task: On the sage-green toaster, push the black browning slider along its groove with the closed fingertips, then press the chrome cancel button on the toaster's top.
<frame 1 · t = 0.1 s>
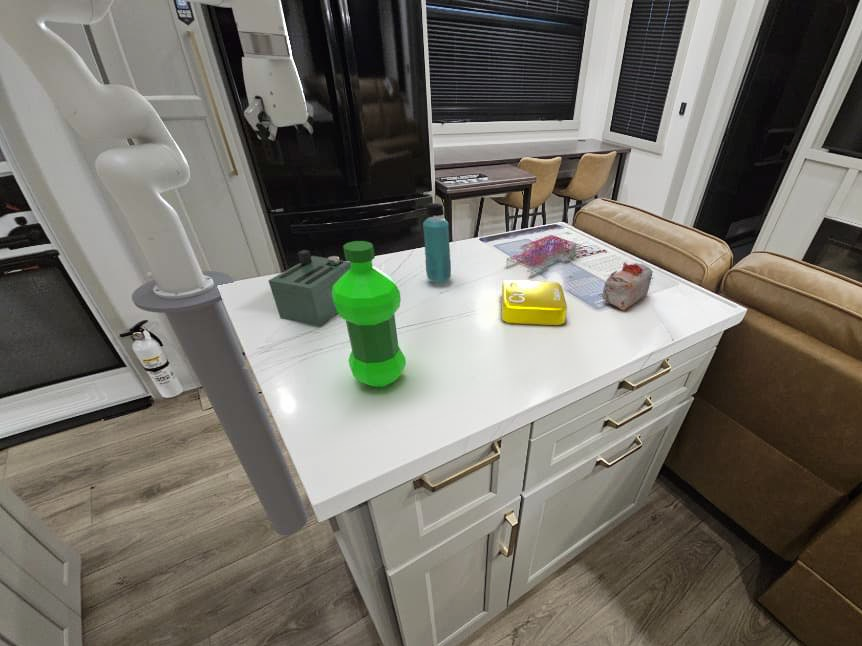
hand: (292, 159, 82), 30 cm above the worktop, tool pointing down, fingers open, 9 cm apart
beverage bottle: (439, 283, 112), on the worktop
food item: (623, 301, 110), on the worktop
plastic bottle: (380, 379, 78), on the worktop
purple mottled irregular slab: (543, 260, 129), on the worktop
element tile: (532, 310, 103), on the worktop
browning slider: (304, 257, 93), point 10 cm above the worktop, slide at 0.0 cm
cancel button: (334, 262, 95), point 9 cm above the worktop, slide at 0.1 cm
toaster: (320, 307, 97), on the worktop
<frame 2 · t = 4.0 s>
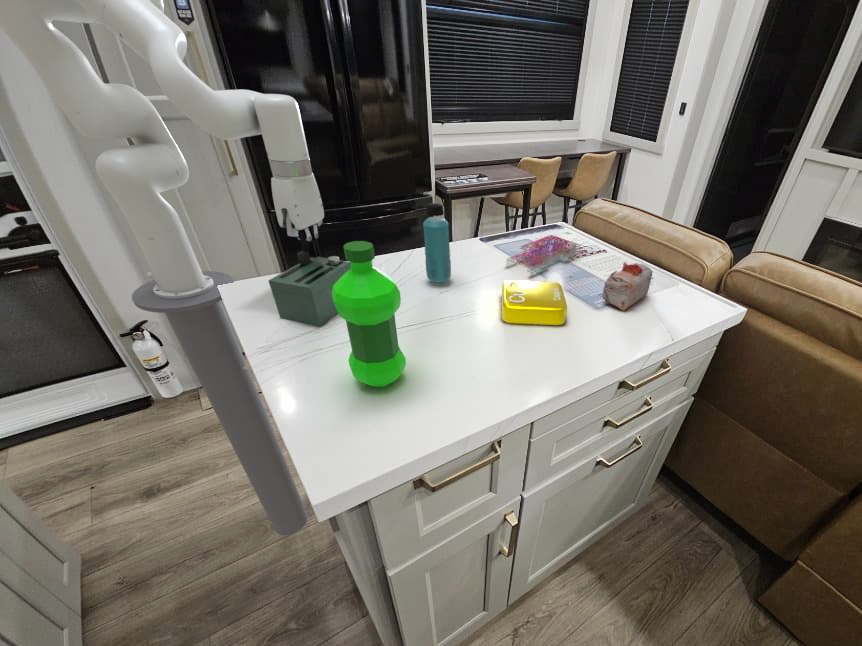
hand: (312, 255, 96), 10 cm above the worktop, tool pointing down, fingers closed
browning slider: (304, 257, 93), point 10 cm above the worktop, slide at 0.3 cm, touching gripper
everything else where it was.
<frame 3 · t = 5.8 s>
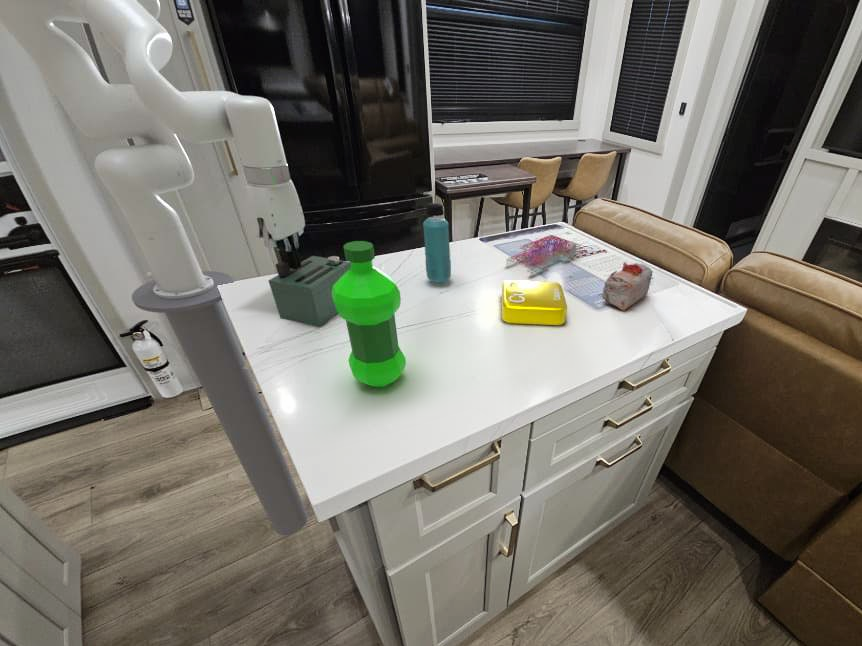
hand: (293, 266, 90), 10 cm above the worktop, tool pointing down, fingers closed
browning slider: (283, 268, 88), point 10 cm above the worktop, slide at 7.1 cm, touching gripper
everything else where it was.
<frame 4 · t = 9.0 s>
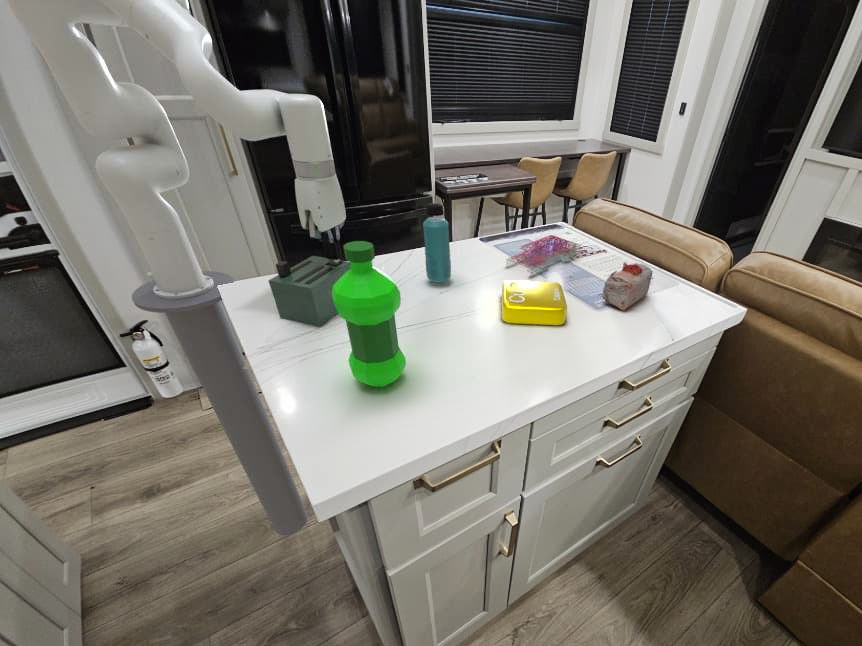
hand: (333, 257, 95), 10 cm above the worktop, tool pointing down, fingers closed
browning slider: (283, 268, 88), point 10 cm above the worktop, slide at 7.1 cm
cancel button: (334, 262, 95), point 9 cm above the worktop, slide at 0.0 cm, touching gripper
everything else where it was.
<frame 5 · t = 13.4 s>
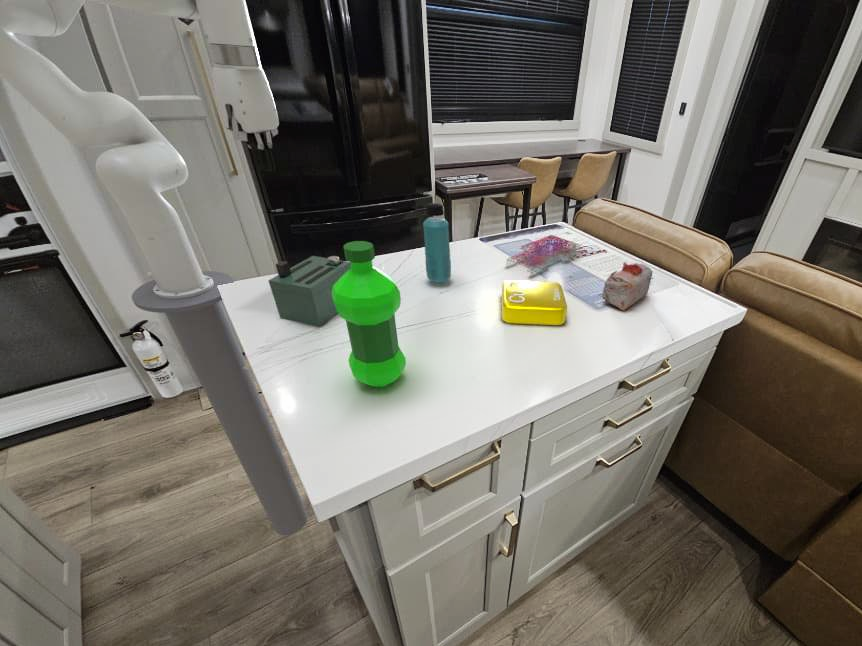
hand: (266, 169, 87), 27 cm above the worktop, tool pointing down, fingers closed
cancel button: (334, 262, 95), point 9 cm above the worktop, slide at 0.1 cm
everything else where it was.
at the end: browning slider slide at 7.1 cm; cancel button pushed in 1.0 cm at the most during the clip, back to where it started at the end; cancel button slide at 0.1 cm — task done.
